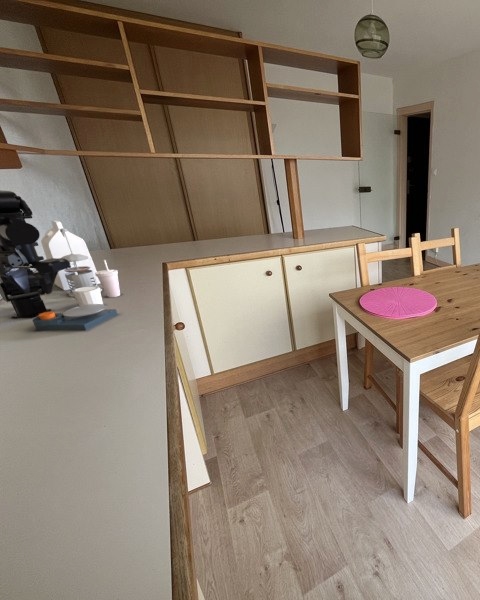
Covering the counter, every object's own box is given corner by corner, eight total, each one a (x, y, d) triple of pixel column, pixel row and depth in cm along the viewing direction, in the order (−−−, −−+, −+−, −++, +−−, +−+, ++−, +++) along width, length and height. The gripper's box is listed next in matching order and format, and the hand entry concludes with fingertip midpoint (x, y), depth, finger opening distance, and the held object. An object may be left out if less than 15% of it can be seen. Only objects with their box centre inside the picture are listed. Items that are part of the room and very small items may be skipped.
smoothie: (128, 294, 122) (118, 259, 117) (110, 299, 117) (98, 263, 112) (117, 292, 124) (106, 257, 119) (98, 297, 119) (86, 261, 114)
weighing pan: (53, 317, 94) (52, 316, 93) (82, 304, 103) (82, 303, 103) (88, 317, 94) (87, 316, 94) (114, 304, 103) (114, 303, 103)
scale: (30, 332, 92) (26, 321, 90) (72, 314, 104) (68, 304, 103) (83, 332, 93) (78, 321, 91) (117, 314, 105) (114, 304, 103)
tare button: (37, 320, 92) (35, 315, 91) (47, 316, 95) (45, 311, 94) (48, 320, 92) (46, 315, 92) (59, 316, 95) (57, 311, 95)
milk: (101, 283, 134) (80, 221, 124) (64, 290, 125) (38, 224, 115) (91, 278, 140) (71, 218, 130) (55, 284, 131) (30, 221, 121)
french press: (73, 298, 117) (47, 231, 108) (63, 292, 122) (38, 228, 113) (106, 291, 125) (85, 228, 116) (95, 286, 130) (75, 225, 121)
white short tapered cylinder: (89, 312, 106) (82, 292, 103) (73, 310, 107) (66, 291, 104) (110, 305, 112) (104, 286, 110) (95, 303, 113) (89, 284, 111)
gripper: (-61, 245, 77) (-31, 303, 83) (20, 246, 78) (44, 304, 84) (-8, 237, 88) (15, 290, 93) (62, 238, 89) (81, 290, 94)
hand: (38, 293), depth 91 cm, fingers open, 6 cm apart
